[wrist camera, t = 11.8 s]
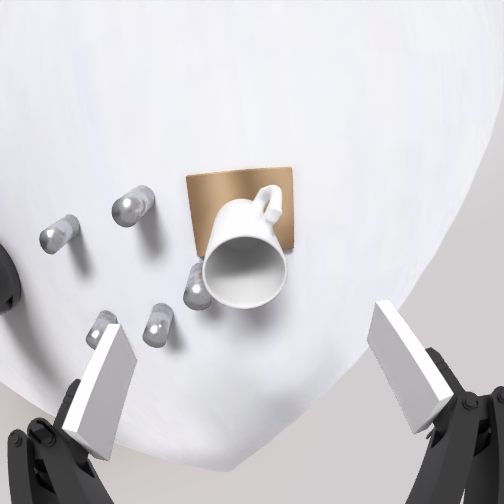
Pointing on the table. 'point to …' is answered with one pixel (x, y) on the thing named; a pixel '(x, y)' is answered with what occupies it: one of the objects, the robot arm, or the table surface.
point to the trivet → (238, 187)
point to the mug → (246, 252)
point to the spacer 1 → (59, 234)
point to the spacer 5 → (196, 290)
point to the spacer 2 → (100, 328)
